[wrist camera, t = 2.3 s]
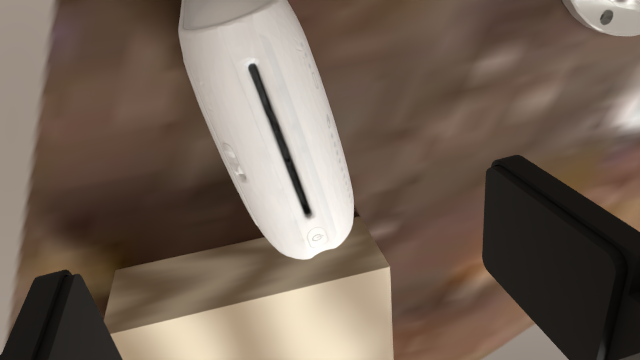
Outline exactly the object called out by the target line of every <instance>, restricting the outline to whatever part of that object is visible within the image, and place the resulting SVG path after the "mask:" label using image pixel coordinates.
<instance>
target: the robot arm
mask: <svg viewBox="0 0 640 360" xmlns="http://www.w3.org/2000/svg"><path fill="white" fill-rule="evenodd" d="M562 2H563V3H564V5H565V6H566V8H567V9H568V10H569V12H570V13H571V14H572V16H573V17H574V18H576V19H577V20H578V21H579V22H580V23H582V24H583V25H584V26H586V27H588V28H591V29H593V30H595V31H598V32H601V33H606V34H611V35H615V36H635V35H640V0H562ZM482 259H483V263H484V266H485V267H486V269H487V271H488V272H489V273H490V274H491V275H492V276H493V277H494V278H495V280H496V281H497V282H498V283H499V284H500V285H501V286H502V287H503V288H504V289H505V290H506V292H507V293H508V294H509V295H510V296H511V297H512V298H513V299H514V300H515V301H516V302H517V304H518V305H519V306H520V307H521V308H522V309H523V310H524V311H525V312H526V313H527V314H528V316H529V317H530V318H531V319H532V320H533V321H534V322H535V323H536V324H537V325H538V326H539V327H540V329H541V330H542V331H543V332H544V333H545V334H546V335H547V336H548V337H549V338H550V339H551V341H552V342H553V343H554V344H555V345H556V346H557V347H558V348H559V349H560V350H561V352H562V353H563V354H564V355H565V356H566V357H567V358H568V359H569V360H640V232H639V231H637V230H636V229H634V228H633V227H631V226H630V225H628V224H626V223H625V222H623V221H622V220H620V219H619V218H617V217H616V216H614V215H612V214H611V213H609V212H608V211H606V210H605V209H603V208H602V207H600V206H598V205H597V204H595V203H594V202H592V201H591V200H589V199H588V198H586V197H584V196H583V195H581V194H580V193H578V192H577V191H575V190H574V189H572V188H570V187H569V186H567V185H566V184H564V183H563V182H561V181H560V180H558V179H556V178H555V177H553V176H552V175H550V174H549V173H547V172H546V171H544V170H542V169H541V168H539V167H538V166H536V165H535V164H533V163H532V162H530V161H528V160H527V159H525V158H524V157H522V156H520V155H514V156H510V157H506V158H502V159H498V160H495V161H494V162H493V163H492V165H491V168H489V169H487V171H486V183H485V206H484V229H483V251H482ZM0 360H123V359H122V357H121V355H120V353H119V351H118V349H117V347H116V345H115V343H114V341H113V339H112V337H111V335H110V333H109V331H108V329H107V327H106V325H105V323H104V321H103V319H102V316H101V314H100V312H99V310H98V308H97V306H96V304H95V302H94V300H93V298H92V296H91V294H90V292H89V290H88V288H87V286H86V284H85V282H84V280H83V278H82V277H81V275H80V274H74V275H72V274H71V273H70V272H69V271H68V270H62V271H58V272H54V273H50V274H46V275H43V276H39V277H36V278H35V279H34V281H33V283H32V285H31V288H30V290H29V292H28V294H27V297H26V299H25V301H24V304H23V306H22V308H21V311H20V313H19V315H18V317H17V320H16V322H15V324H14V327H13V329H12V331H11V334H10V336H9V338H8V341H7V343H6V345H5V347H4V350H3V352H2V354H1V355H0Z"/></svg>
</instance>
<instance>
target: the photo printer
mask: <svg viewBox="0 0 640 360" xmlns="http://www.w3.org/2000/svg"><path fill="white" fill-rule="evenodd" d="M178 33H179V39H180V45H181V49H182V54H183V61H184V64H185V68H186V71H187V74H188V76H189V79H190V82H191V84H192V87H193V90H194V92H195V95H196V98H197V101H198V103H199V106H200V108H201V111H202V113H203V116H204V118H205V120H206V123H207V125H208V128H209V130H210V132H211V135H212V137H213V139H214V142H215V144H216V146H217V148H218V150H219V153H220V155H221V158H222V160H223V162H224V164H225V166H226V168H227V170H228V172H229V175H230V177H231V179H232V181H233V183H234V185H235V187H236V189H237V191H238V193H239V195H240V197H241V199H242V201H243V203H244V205H245V206H246V208H247V210H248V212H249V214H250V216H251V217H252V219H253V221H254V222H255V224H256V225H257V226H258V228H259V229H260V231H261V232H262V233H263V235H264V236H265V237H266V239H267V240H268V241H269V242H270V243H271V244H272V245H273V246H274V247H275V248H276V249H277V250H278V251H279V252H280V253H282V254H284V255H286V256H288V257H292V258H295V259H303V260H305V259H310V258H312V257H314V256H315V255H316V254H318V253H320V252H322V251H325V250H329V249H334V248H336V247H338V246H339V245H340V244H341V243H342V242H343V241H344V240H345V239H346V237H347V236H348V234H349V233H350V231H351V228H352V225H353V217H354V199H353V191H352V186H351V182H350V177H349V173H348V168H347V164H346V160H345V156H344V153H343V149H342V146H341V142H340V139H339V135H338V132H337V128H336V125H335V121H334V118H333V115H332V112H331V109H330V106H329V102H328V99H327V96H326V93H325V90H324V87H323V84H322V81H321V78H320V75H319V72H318V69H317V67H316V64H315V61H314V58H313V56H312V53H311V50H310V48H309V45H308V42H307V39H306V37H305V35H304V32H303V30H302V28H301V25H300V23H299V21H298V19H297V17H296V15H295V13H294V12H293V10H292V8H291V6H290V5H289V3H288V1H287V0H182V3H181V13H180V20H179V28H178Z"/></svg>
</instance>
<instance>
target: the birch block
mask: <svg viewBox="0 0 640 360" xmlns="http://www.w3.org/2000/svg"><path fill="white" fill-rule="evenodd" d="M104 323H105V325H106V327H107V329H108V331H109V333H110V335H111V337H112V339H113V341H114V343H115V345H116V347H117V349H118V351H119V353H120V355H121V357H122V359H123V360H393V338H392V311H391V283H390V266H389V264H388V263H387V261H386V259H385V258H384V256H383V254H382V253H381V251H380V249H379V248H378V246H377V244H376V243H375V241H374V239H373V237H372V236H371V234H370V232H369V231H368V229H367V227H366V226H365V224H364V222H363V221H362V219H361V217H360V216H359V217H355V218H353V225H352V228H351V231H350V233H349V234H348V236H347V237H346V239H345V240H344V241H343V242H342V243H341V244H340V245H339V246H338V247H336V248H334V249H329V250H325V251H322V252H320V253H318V254H316V255H315V256H314V257H312V258H310V259H305V260H303V259H295V258H292V257H288V256H286V255H284V254H282V253H280V252H279V251H278V250H277V249H276V248H275V247H274V246H273V245H272V244H271V243H270V242H269V241H268V240H267V239H266V237H264V238H259V239H255V240H250V241H246V242H241V243H237V244H232V245H227V246H223V247H218V248H214V249H209V250H205V251H200V252H196V253H191V254H186V255H182V256H177V257H173V258H168V259H164V260H159V261H155V262H150V263H146V264H141V265H136V266H132V267H127V268H123V269H118V270H115V274H114V278H113V283H112V287H111V291H110V296H109V300H108V304H107V309H106V313H105V317H104Z"/></svg>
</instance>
